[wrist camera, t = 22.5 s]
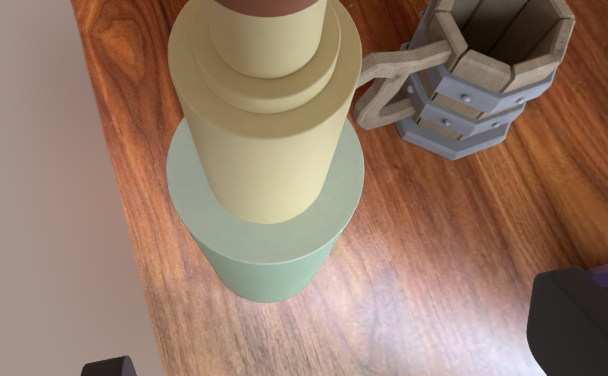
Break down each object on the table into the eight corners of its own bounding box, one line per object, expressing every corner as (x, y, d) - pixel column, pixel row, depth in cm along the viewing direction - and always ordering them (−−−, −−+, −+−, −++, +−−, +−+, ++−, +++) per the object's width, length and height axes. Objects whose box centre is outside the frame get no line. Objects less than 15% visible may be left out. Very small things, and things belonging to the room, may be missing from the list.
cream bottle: (316, 234, 26) (385, 69, 11) (195, 213, 26) (91, 19, 11) (333, 122, 28) (412, -154, 13) (220, 103, 28) (161, -199, 12)
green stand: (313, 311, 47) (351, 279, 26) (200, 292, 46) (144, 245, 25) (329, 202, 50) (375, 93, 28) (223, 184, 49) (190, 62, 28)
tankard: (474, 27, 56) (545, -83, 42) (531, 132, 53) (628, 51, 39) (297, 85, 53) (308, -14, 38) (347, 200, 50) (378, 139, 35)
